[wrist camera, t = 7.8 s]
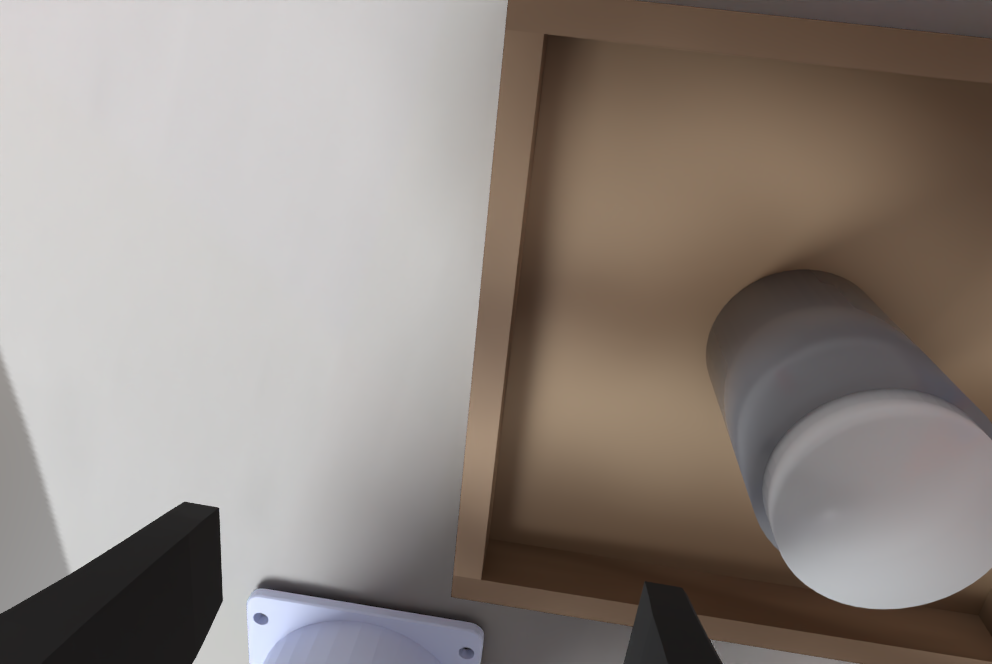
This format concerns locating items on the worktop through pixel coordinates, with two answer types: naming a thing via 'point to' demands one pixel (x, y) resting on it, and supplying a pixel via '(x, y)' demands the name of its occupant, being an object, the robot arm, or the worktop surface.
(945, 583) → the cylinder
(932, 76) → the walnut tray
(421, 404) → the worktop surface
